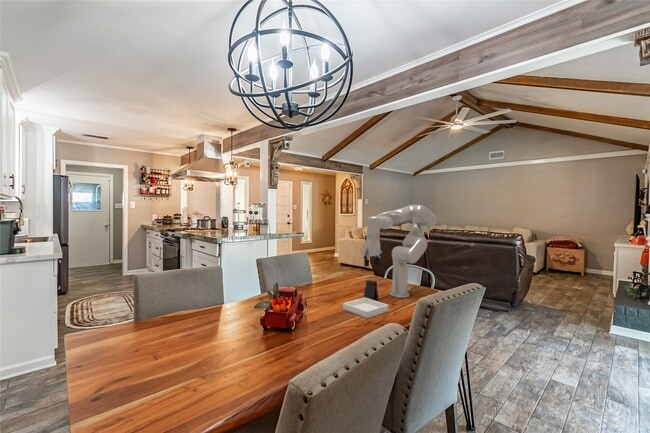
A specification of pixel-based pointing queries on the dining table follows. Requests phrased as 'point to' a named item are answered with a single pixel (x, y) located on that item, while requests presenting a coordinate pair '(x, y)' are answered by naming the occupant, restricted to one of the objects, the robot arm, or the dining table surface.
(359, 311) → the tray
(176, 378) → the dining table surface
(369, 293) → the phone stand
